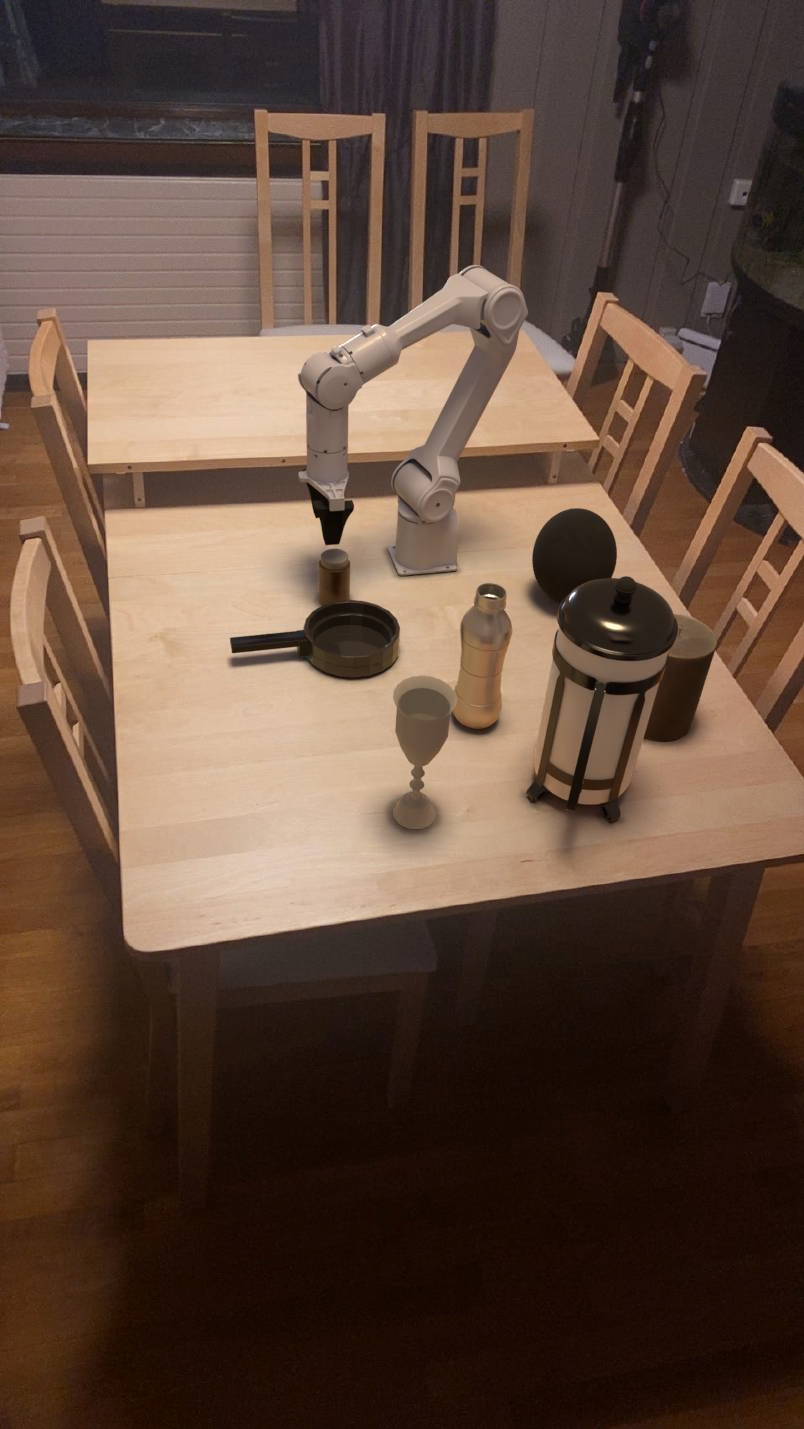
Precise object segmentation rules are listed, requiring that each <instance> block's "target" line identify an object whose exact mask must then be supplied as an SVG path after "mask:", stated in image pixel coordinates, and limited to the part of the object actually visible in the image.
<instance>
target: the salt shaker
mask: <svg viewBox="0 0 804 1429" xmlns="http://www.w3.org/2000/svg"><path fill="white" fill-rule="evenodd" d="M350 595H351V560H350V559H349V553H348V552H347V551H345V550H343V549H340V548H329V549H326V550H323V551H322V552H321V554H320V559H319V560H318V602H319V604H320V605H321V606H322V605H325V604H328V603H331V602H335V601H344V600H351V599H350V598H351V596H350Z"/></svg>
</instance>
